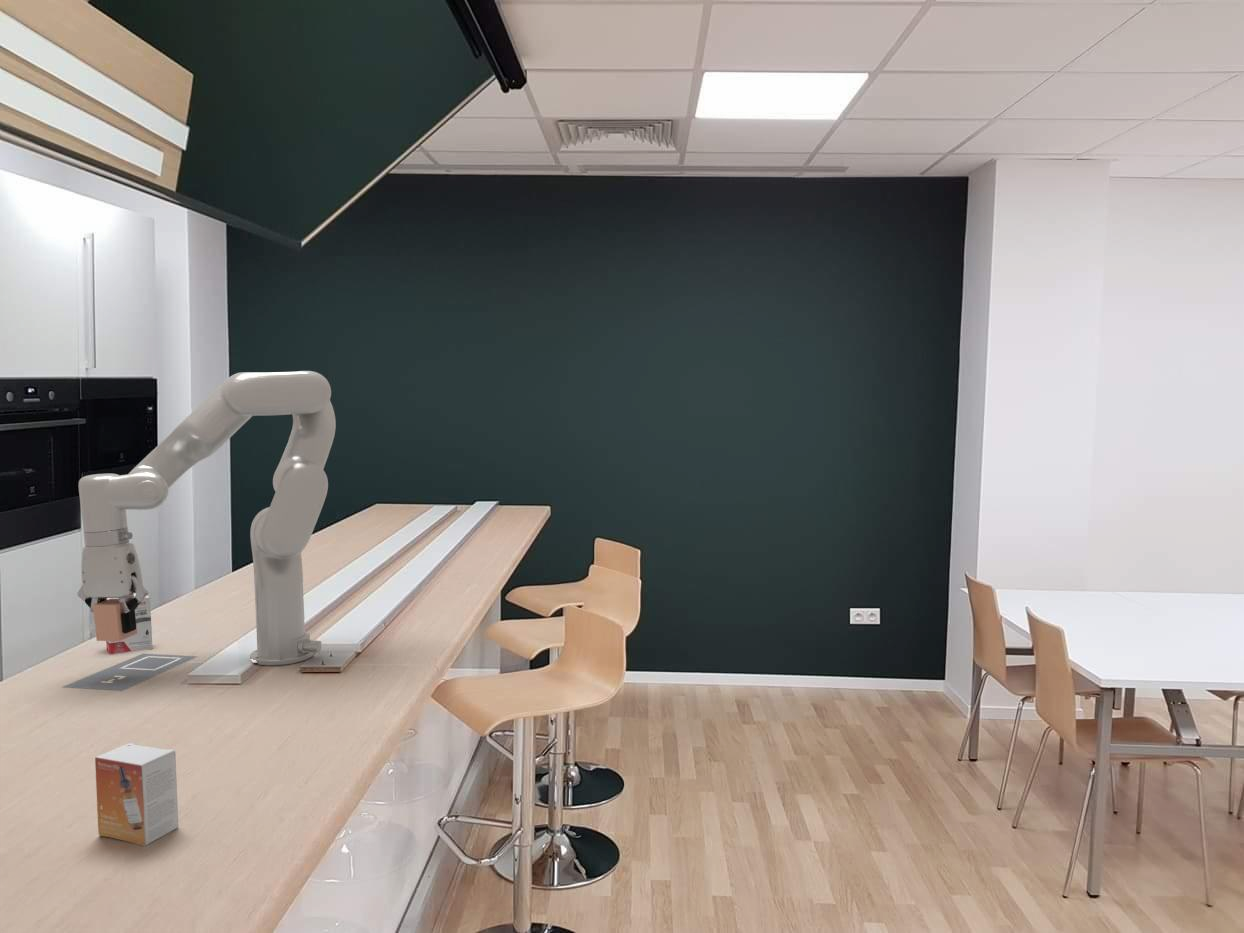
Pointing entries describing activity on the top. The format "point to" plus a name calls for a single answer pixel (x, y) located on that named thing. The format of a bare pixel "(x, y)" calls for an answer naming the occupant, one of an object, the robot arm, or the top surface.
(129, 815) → the small box
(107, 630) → the block
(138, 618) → the ink box
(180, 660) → the mat
